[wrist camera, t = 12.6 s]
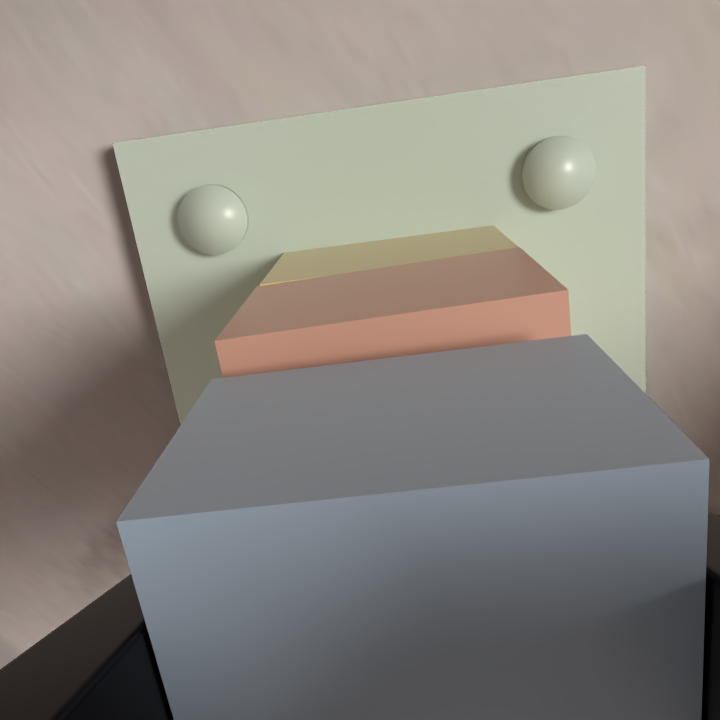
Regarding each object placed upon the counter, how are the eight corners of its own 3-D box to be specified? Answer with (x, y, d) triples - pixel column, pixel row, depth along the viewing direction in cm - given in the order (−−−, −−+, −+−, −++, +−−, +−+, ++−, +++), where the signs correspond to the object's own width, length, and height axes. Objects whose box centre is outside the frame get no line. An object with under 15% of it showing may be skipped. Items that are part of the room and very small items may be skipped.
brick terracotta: (519, 247, 13) (568, 289, 9) (539, 483, 14) (587, 592, 11) (257, 286, 13) (214, 341, 10) (304, 512, 15) (281, 625, 11)
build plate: (636, 67, 15) (721, 47, 11) (638, 495, 19) (704, 590, 15) (121, 142, 16) (39, 147, 12) (215, 537, 20) (174, 638, 16)
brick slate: (587, 333, 9) (708, 459, 6) (596, 643, 10) (696, 884, 7) (212, 378, 9) (116, 521, 6) (276, 671, 11) (230, 913, 7)
